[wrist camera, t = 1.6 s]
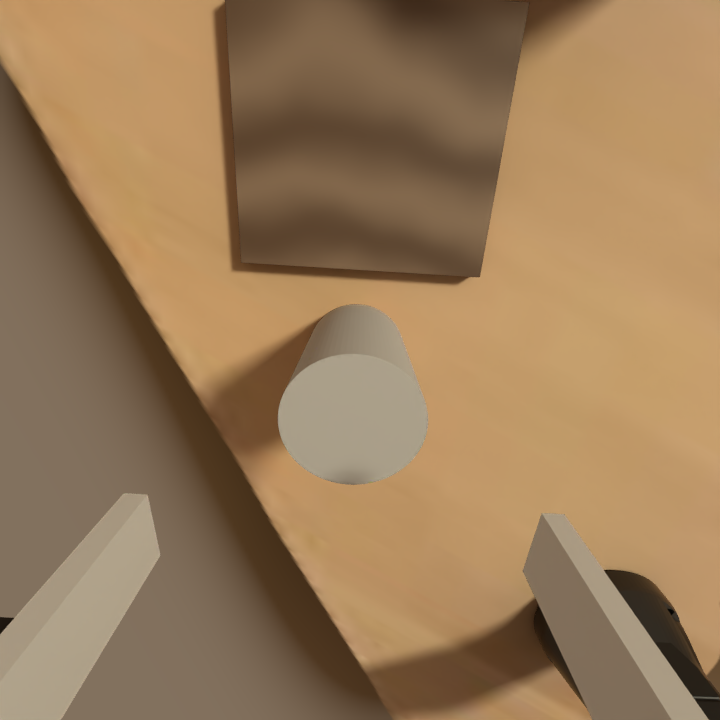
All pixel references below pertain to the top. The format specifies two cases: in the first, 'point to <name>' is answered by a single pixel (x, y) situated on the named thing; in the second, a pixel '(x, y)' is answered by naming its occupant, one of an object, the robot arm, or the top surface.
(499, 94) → the walnut board
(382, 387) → the beige cylinder
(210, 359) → the top surface
